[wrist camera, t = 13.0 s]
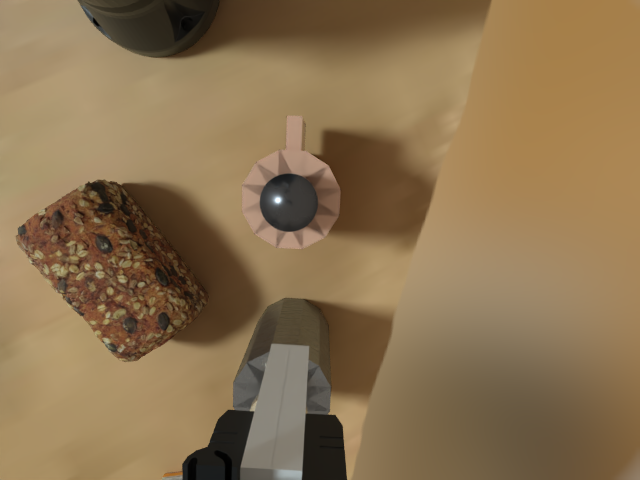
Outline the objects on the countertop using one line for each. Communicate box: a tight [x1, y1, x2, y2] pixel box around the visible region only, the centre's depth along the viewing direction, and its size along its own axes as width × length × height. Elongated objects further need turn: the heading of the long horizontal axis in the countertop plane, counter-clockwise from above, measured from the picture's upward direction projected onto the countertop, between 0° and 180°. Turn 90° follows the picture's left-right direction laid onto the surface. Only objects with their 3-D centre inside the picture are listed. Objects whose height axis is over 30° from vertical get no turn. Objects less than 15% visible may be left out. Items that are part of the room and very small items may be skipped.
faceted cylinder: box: [233, 298, 331, 415], centre depth 46 cm, size 9×12×15 cm
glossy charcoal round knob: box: [260, 173, 318, 232], centre depth 41 cm, size 5×5×12 cm
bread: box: [15, 180, 209, 362], centre depth 46 cm, size 19×11×10 cm, turn 34°
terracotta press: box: [242, 116, 341, 249], centre depth 43 cm, size 9×12×12 cm
